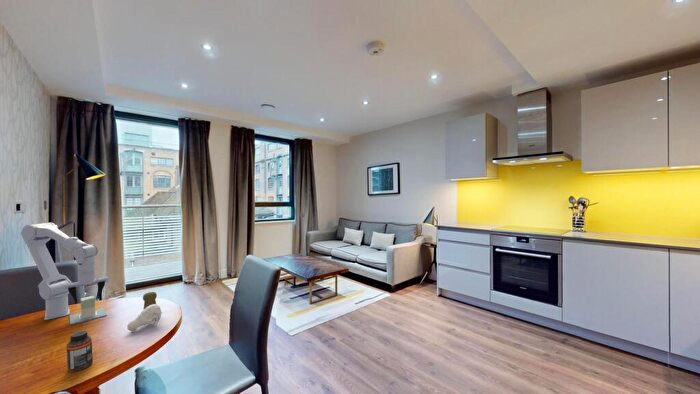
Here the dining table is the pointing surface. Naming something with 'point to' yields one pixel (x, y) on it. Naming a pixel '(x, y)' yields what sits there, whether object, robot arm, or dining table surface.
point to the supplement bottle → (79, 351)
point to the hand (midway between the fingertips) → (87, 300)
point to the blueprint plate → (77, 317)
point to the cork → (149, 299)
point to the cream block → (88, 312)
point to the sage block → (87, 302)
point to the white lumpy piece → (146, 317)
